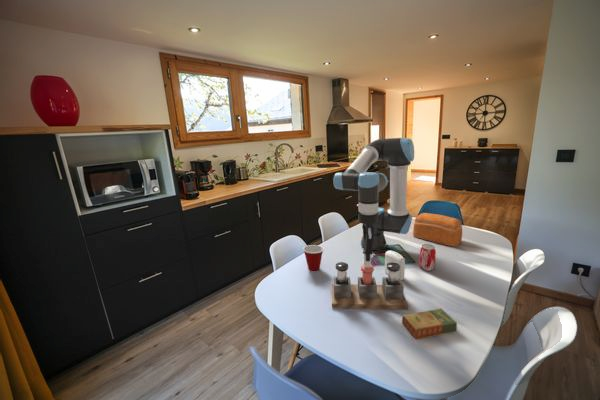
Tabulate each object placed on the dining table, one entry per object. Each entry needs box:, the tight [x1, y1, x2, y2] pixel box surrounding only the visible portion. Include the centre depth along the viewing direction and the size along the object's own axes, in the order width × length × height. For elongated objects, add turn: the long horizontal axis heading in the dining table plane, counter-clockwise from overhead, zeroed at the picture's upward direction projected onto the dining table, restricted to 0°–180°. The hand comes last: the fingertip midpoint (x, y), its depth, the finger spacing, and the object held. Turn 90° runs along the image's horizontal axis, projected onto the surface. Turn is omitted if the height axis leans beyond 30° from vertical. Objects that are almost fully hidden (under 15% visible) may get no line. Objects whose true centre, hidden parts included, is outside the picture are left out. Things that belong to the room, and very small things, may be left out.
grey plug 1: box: [335, 261, 349, 285], centre depth 112 cm, size 5×5×9 cm
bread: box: [412, 212, 463, 248], centre depth 165 cm, size 14×26×16 cm, turn 43°
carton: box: [401, 308, 458, 340], centre depth 95 cm, size 8×16×4 cm, turn 101°
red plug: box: [360, 263, 375, 285], centre depth 111 cm, size 5×5×9 cm
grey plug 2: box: [387, 262, 400, 285], centre depth 109 cm, size 5×5×9 cm
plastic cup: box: [302, 244, 325, 273], centre depth 138 cm, size 11×11×12 cm
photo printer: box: [384, 250, 406, 281], centre depth 127 cm, size 10×4×12 cm, turn 26°
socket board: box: [331, 276, 409, 311], centre depth 112 cm, size 30×14×8 cm, turn 84°
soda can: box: [418, 243, 437, 272], centre depth 132 cm, size 7×7×12 cm
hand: (367, 266), depth 109 cm, fingers closed
